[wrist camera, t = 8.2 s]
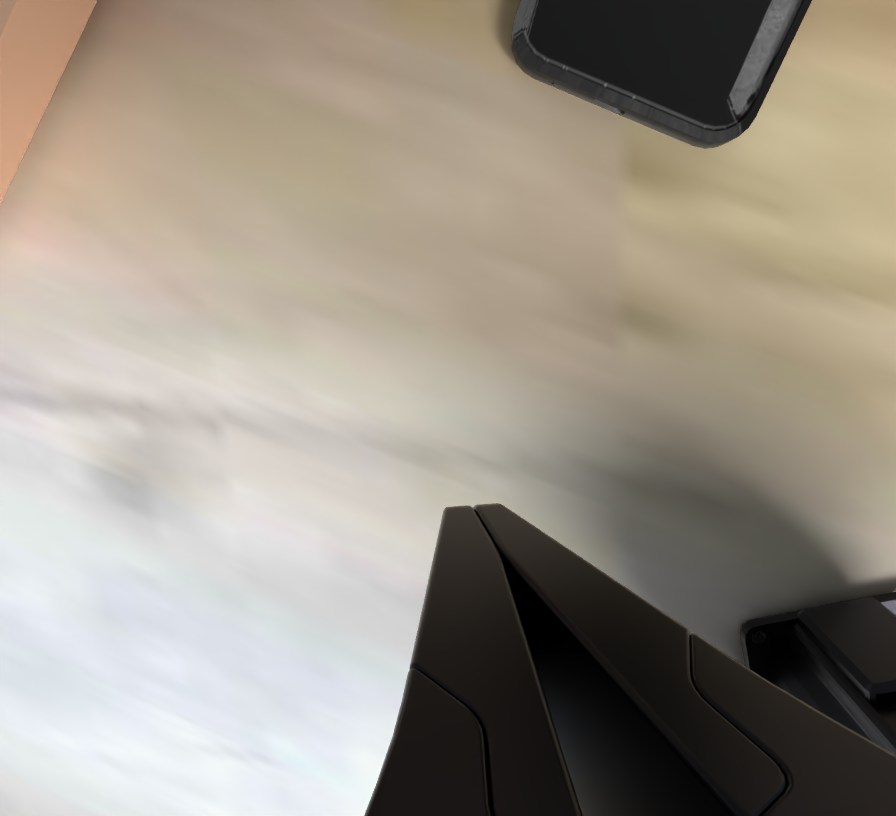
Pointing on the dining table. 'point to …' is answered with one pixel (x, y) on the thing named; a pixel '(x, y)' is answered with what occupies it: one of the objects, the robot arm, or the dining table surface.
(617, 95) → the phone
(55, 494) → the dining table surface
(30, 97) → the glazed tile
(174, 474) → the dining table surface
